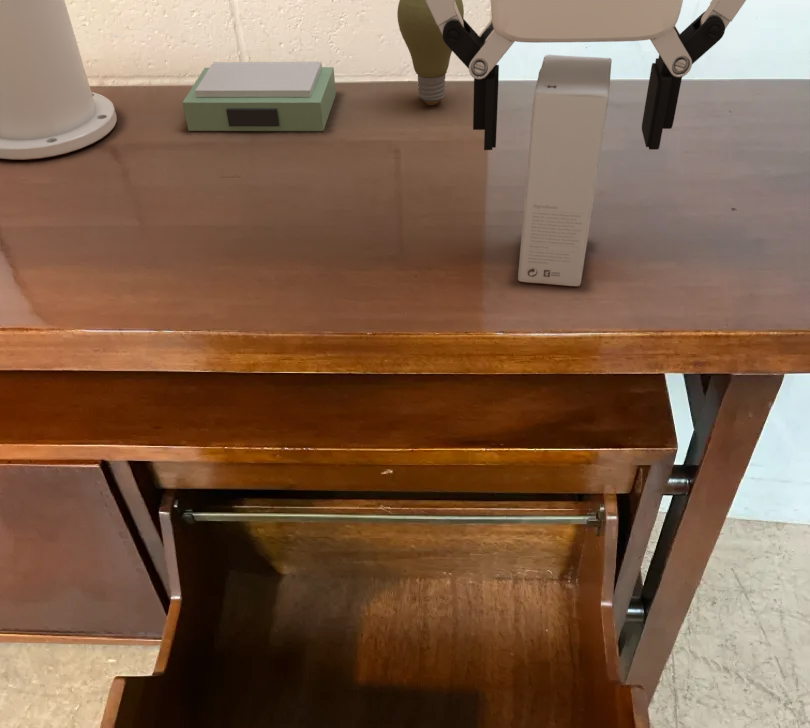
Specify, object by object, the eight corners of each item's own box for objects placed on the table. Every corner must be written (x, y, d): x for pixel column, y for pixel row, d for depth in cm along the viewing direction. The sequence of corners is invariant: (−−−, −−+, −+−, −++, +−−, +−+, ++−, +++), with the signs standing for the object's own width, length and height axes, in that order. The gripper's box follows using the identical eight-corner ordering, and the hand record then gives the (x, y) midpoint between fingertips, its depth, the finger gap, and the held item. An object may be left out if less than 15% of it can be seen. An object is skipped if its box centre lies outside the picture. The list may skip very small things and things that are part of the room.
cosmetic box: (581, 289, 55) (609, 95, 46) (516, 283, 56) (531, 91, 47) (587, 242, 59) (613, 55, 50) (526, 237, 60) (541, 52, 51)
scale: (187, 132, 73) (179, 96, 71) (209, 95, 79) (203, 60, 77) (323, 132, 72) (319, 95, 70) (336, 94, 78) (333, 59, 76)
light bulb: (399, 116, 74) (394, -15, 67) (402, 91, 78) (397, -35, 70) (462, 115, 74) (464, -16, 66) (462, 90, 78) (464, -37, 70)
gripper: (786, -259, 40) (705, 114, 53) (425, -244, 42) (431, 116, 54) (825, -239, 35) (725, 168, 48) (414, -223, 37) (423, 168, 49)
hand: (569, 140), depth 51 cm, fingers open, 9 cm apart
